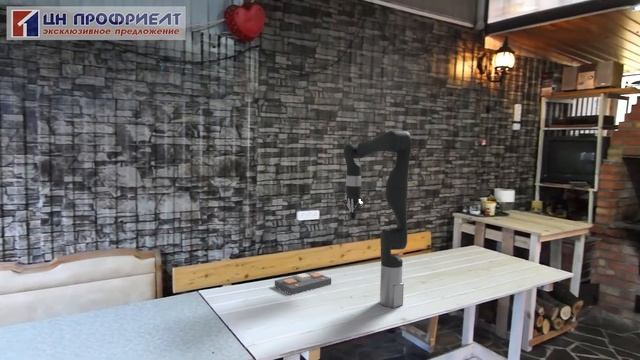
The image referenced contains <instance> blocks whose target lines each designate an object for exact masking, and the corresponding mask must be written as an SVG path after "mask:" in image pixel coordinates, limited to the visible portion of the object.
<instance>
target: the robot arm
mask: <svg viewBox="0 0 640 360" xmlns="http://www.w3.org/2000/svg"><path fill="white" fill-rule="evenodd" d="M411 151H412V137H411V134H410V132H409V131H406V130H395V129H394V130H389V131H387V132H384V133H383V134H381V135H379V136H377V137H375V138H372V139H369V140H364V141H362V142H359V143H358V144H356V143H353V144H352V143H349V144H348V143H347V144H346V145H345V146H344V149H343V156H344V157H343V158H344V160H345V165H346V178H345V195H346V197H345V199H343V200H342V202H343V204H344V206H345V208H346V210H347V211H349V219H350V220H352V221H354V220H356V219H357V212H360V211H361V209H362V207H363V205H364V204H365V203H364V202H363V201H361V195H362V164H360V163H356V162H355V160H356V159H365V157H369V156H373V155H376V154H378V153H379V152H389V153H396V159H395V165H394V167H393V169H392V171H391V172H390V174H389V176H388V178H387V181H386V184H385V199H386V202H387V204H388V206H389V207H390V209H391V211H392V212H393V215H394V217H395V221H396V228H395V227H392V228H391V227H390V228H383V229H382V230H381V232H380V238H379V239H380V240H379V241H380V243H379V244H380V284H379V288H380V289H379V304H381V305H382V306H384V307H387V308H388V307H389V308H393V309H394V308H397V307H400V306H403V305H404V292H405V291H404V289H405V288H404V285H405V284H404V283H403V263H404V262H403V259H402V258H401V257H399V256H397V255H393V254H392V250H393V251H396V250H397V251H398V250H399V251H400V250H406V248H407V245H408V224H407V223H408V221H407V218H408V217H407V216H408V215H407V214H408V213H407V212H408V210H407V208H408V194H409V193H408V191H409V190H408V189H409V184H408V183H409V167H410V157H411Z"/></svg>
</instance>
